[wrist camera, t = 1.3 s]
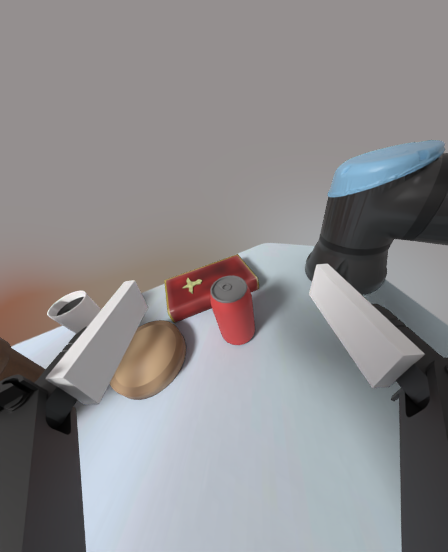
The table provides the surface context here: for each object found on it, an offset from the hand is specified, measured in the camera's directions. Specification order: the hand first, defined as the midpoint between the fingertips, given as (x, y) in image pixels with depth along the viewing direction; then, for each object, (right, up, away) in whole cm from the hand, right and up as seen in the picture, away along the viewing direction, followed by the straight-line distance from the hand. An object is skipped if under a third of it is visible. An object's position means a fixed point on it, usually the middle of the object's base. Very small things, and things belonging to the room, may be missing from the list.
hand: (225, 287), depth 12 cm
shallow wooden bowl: (-14, -15, +19) cm, 27 cm away
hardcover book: (-3, -3, +30) cm, 31 cm away
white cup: (-29, -12, +26) cm, 41 cm away
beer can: (+3, -10, +20) cm, 22 cm away
